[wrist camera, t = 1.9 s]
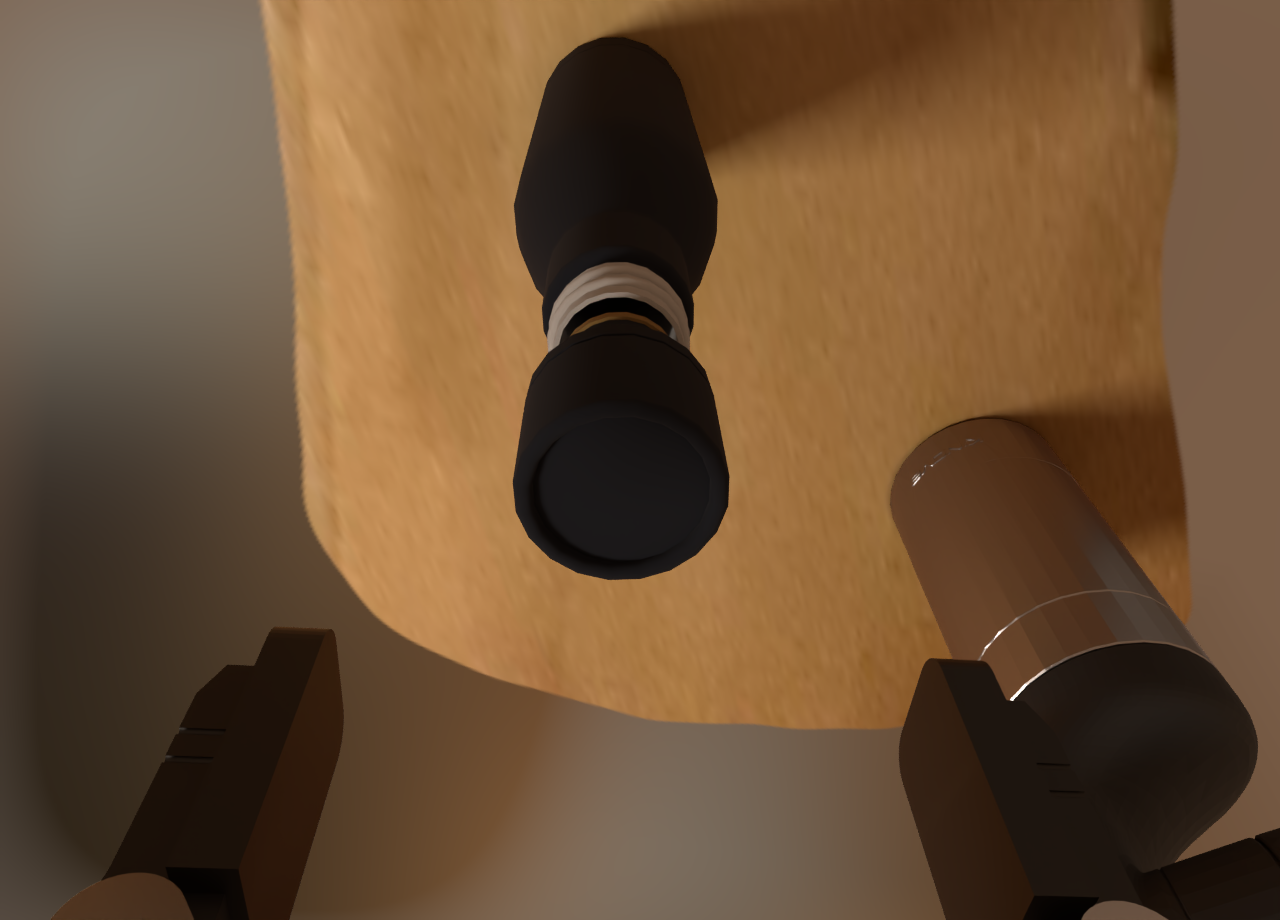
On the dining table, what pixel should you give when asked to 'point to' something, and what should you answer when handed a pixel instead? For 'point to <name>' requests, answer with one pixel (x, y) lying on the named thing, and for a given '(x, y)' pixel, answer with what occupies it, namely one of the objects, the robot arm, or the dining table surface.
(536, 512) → the black bottle
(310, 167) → the dining table surface
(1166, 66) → the dining table surface
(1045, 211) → the dining table surface
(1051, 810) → the robot arm
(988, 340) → the dining table surface
